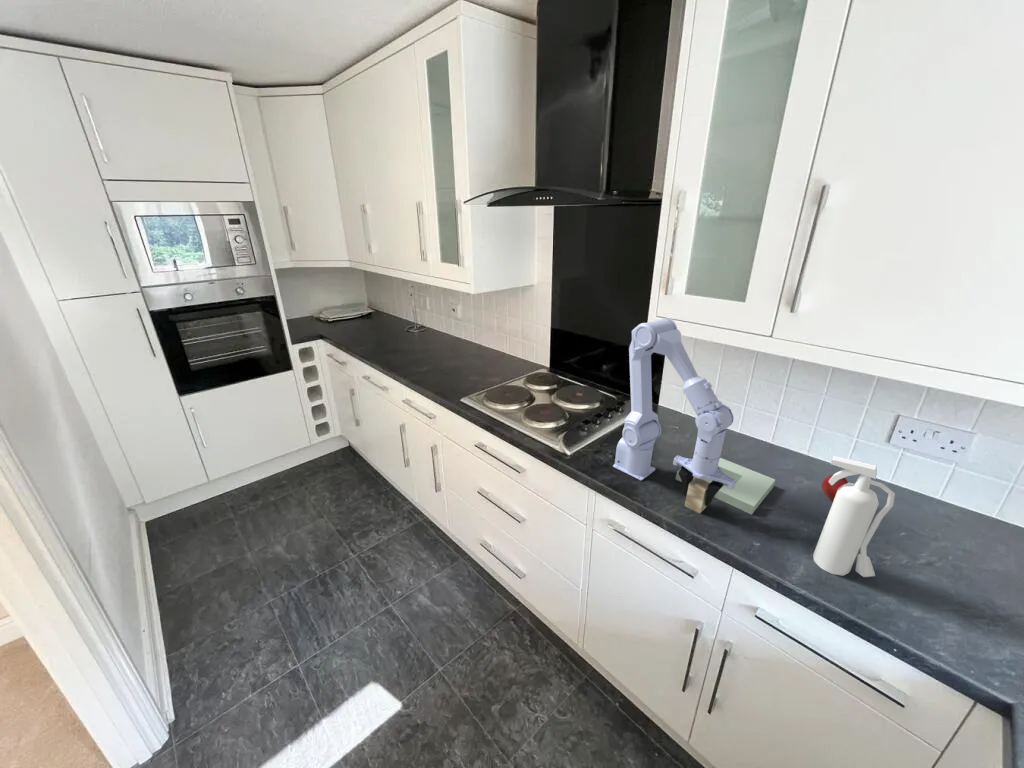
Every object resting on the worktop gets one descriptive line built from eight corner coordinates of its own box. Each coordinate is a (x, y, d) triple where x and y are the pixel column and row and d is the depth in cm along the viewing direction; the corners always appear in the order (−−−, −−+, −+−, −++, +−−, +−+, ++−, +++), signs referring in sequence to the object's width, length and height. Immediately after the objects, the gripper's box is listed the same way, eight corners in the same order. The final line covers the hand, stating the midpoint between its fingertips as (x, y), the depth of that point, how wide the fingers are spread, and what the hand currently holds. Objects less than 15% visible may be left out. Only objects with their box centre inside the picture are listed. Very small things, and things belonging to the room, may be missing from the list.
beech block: (684, 505, 108) (689, 483, 105) (691, 499, 110) (696, 476, 108) (699, 513, 105) (705, 490, 102) (706, 506, 108) (712, 483, 105)
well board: (675, 479, 118) (676, 471, 117) (700, 457, 128) (702, 450, 127) (751, 514, 105) (753, 506, 104) (773, 487, 115) (775, 479, 114)
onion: (819, 488, 114) (828, 463, 111) (845, 497, 111) (855, 472, 108) (816, 499, 110) (825, 473, 107) (843, 508, 107) (854, 482, 104)
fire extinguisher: (869, 592, 84) (912, 486, 75) (799, 560, 92) (830, 460, 83) (875, 574, 88) (915, 471, 79) (807, 544, 96) (837, 448, 87)
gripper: (670, 447, 104) (662, 492, 109) (731, 472, 94) (719, 521, 99) (684, 437, 108) (675, 481, 114) (743, 460, 98) (731, 507, 104)
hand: (697, 499), depth 107 cm, fingers open, 5 cm apart
